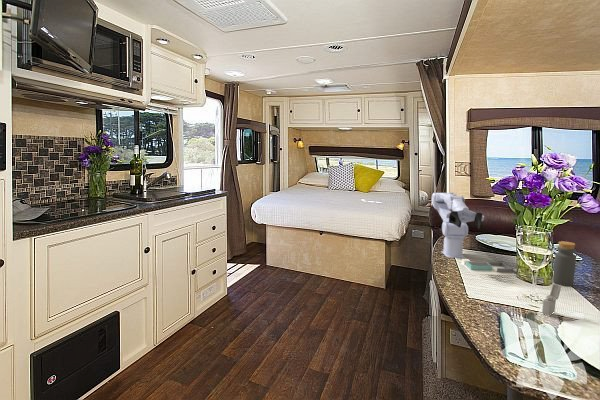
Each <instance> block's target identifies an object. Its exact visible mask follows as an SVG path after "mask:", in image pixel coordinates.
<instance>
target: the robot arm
mask: <svg viewBox="0 0 600 400" xmlns="http://www.w3.org/2000/svg"><path fill="white" fill-rule="evenodd" d="M465 202H466V200H465V196H464V195H457V194H456V193H454V192H433V193H432V194H431V205H432V207H433V208H434V209H435V210H437V212H438V214H439V216H440V217H441V220H442V224H441V231H442V235H443V236H444V237H443V238H444V239H443V247H442V248H443V249H442V250H441V251H440V252H441V253H442V254H443V255H444V256H445V257H447V258H458V259H459V258H462V259H467V257H466V256H465V255H463V250H464V239H465V238H466V237H467V236H468V234H469V226H468V224H467V223H470V222H473V223H474V224H473V225H474V226H476V228H477V229H478V230H481V229H482V228H483V222H484V220H485V216H484V215H483V213H482V212H475V211H472V210H469V209H470V208H469V207H468V206H467V205H466V203H465ZM451 210H452V211H451Z"/></svg>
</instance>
